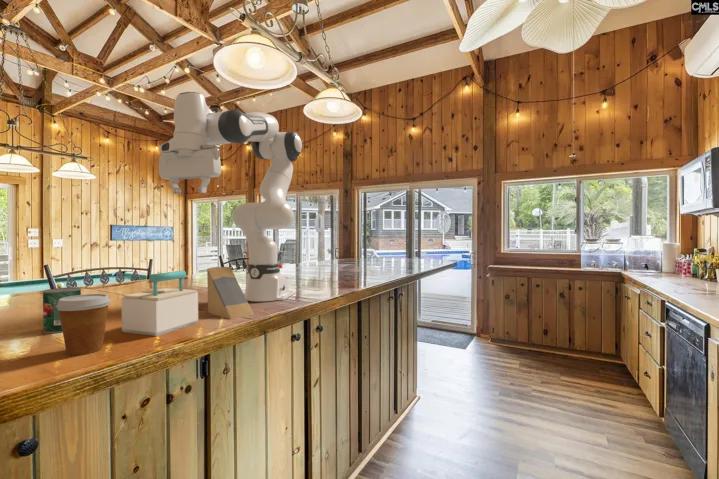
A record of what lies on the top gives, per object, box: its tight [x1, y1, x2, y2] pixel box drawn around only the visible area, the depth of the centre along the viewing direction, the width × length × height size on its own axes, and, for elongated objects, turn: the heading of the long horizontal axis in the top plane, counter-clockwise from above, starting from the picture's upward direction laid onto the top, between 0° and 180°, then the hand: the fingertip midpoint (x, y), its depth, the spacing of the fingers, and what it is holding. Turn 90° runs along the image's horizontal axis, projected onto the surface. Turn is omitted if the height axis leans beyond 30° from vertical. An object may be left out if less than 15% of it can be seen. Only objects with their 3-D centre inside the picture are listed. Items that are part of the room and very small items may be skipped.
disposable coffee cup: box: [56, 293, 112, 356], centre depth 75 cm, size 10×10×12 cm
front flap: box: [142, 270, 198, 300], centre depth 93 cm, size 13×6×6 cm, turn 162°
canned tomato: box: [42, 286, 82, 334], centre depth 92 cm, size 8×8×11 cm
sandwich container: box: [206, 266, 255, 320], centre depth 111 cm, size 9×15×15 cm, turn 50°
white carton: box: [121, 291, 199, 337], centre depth 94 cm, size 14×12×9 cm
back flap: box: [122, 287, 179, 299], centre depth 95 cm, size 13×6×1 cm, turn 162°
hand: (189, 193), depth 100 cm, fingers open, 8 cm apart
